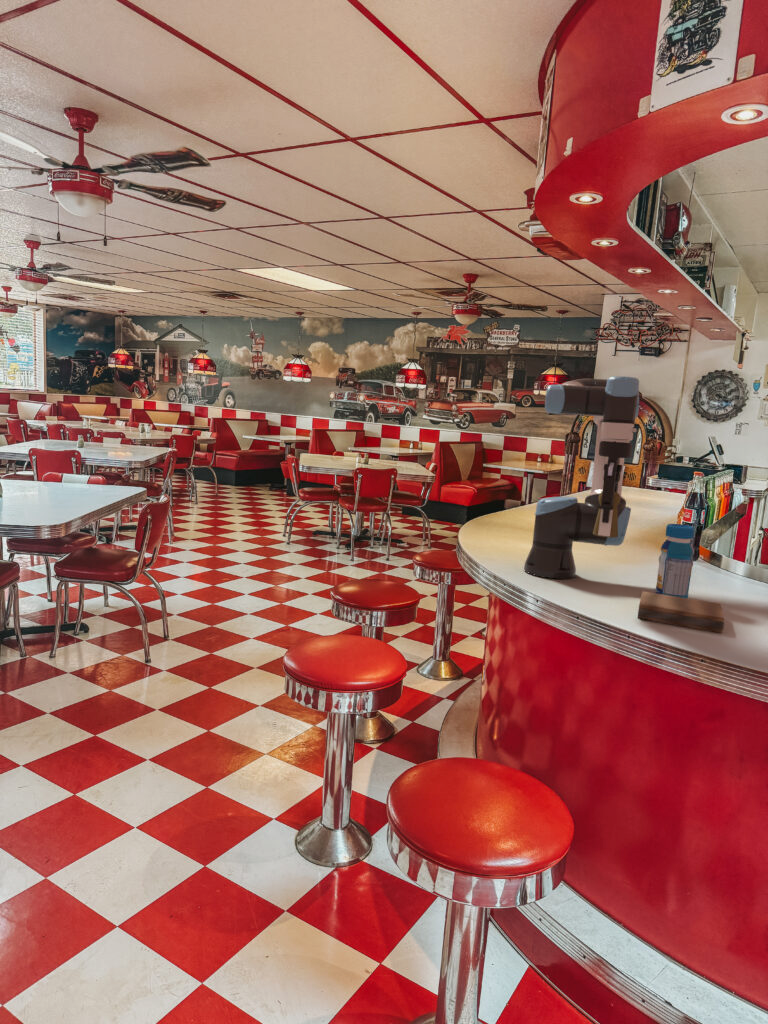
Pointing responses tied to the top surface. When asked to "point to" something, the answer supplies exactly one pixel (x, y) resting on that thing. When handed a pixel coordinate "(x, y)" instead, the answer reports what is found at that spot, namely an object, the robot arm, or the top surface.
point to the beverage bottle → (676, 561)
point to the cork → (614, 517)
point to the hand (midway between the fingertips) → (605, 533)
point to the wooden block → (681, 611)
